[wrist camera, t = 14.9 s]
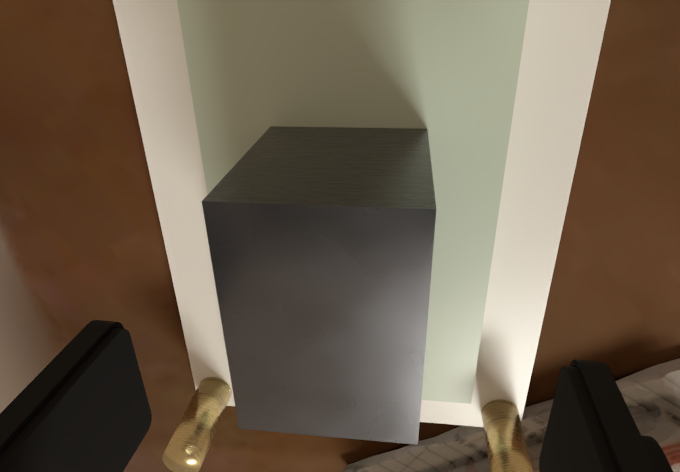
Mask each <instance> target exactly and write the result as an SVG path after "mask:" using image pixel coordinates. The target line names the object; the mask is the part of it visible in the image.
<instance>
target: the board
mask: <svg viewBox="0 0 680 472" xmlns="http://www.w3.org/2000/svg"><path fill="white" fill-rule="evenodd" d="M177 4H178V11H179V17H180V23H181V30H182V36H183V42H184V49H185V55H186V62H187V68H188V74H189V81H190V87H191V93H192V100H193V106H194V113H195V119H196V125H197V132H198V138H199V144H200V151H201V157H202V164H203V170H204V176H205V183H206V189H207V196H206V197H205V198H204V199H203V200H202V206H203V213H204V219H205V225H206V231H207V237H208V243H209V249H210V255H211V261H212V267H213V274H214V280H215V286H216V292H217V298H218V304H219V310H220V316H221V322H222V328H223V335H224V341H225V347H226V353H227V359H228V365H229V371H230V377H231V383H232V389H233V396H234V402H235V408H236V414H237V420H238V426H239V429H250V430H261V431H272V432H283V433H294V434H305V435H316V436H327V437H337V438H348V439H359V440H370V441H381V442H392V443H403V444H414V445H418V436H419V423H420V411H421V400H430V401H442V402H455V403H467V404H471V402H472V395H473V388H474V381H475V374H476V367H477V360H478V353H479V346H480V339H481V332H482V325H483V318H484V311H485V304H486V297H487V290H488V283H489V277H490V270H491V263H492V256H493V249H494V242H495V235H496V228H497V221H498V214H499V207H500V200H501V193H502V186H503V179H504V172H505V165H506V158H507V152H508V145H509V138H510V131H511V124H512V117H513V110H514V103H515V96H516V89H517V82H518V75H519V68H520V61H521V54H522V47H523V40H524V33H525V27H526V20H527V13H528V6H529V0H177Z"/></svg>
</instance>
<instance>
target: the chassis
mask: <svg viewBox="0 0 680 472" xmlns="http://www.w3.org/2000/svg"><path fill="white" fill-rule="evenodd" d="M610 2H611V0H529V6H528V13H527V20H526V27H525V33H524V40H523V47H522V54H521V61H520V68H519V75H518V82H517V89H516V96H515V103H514V110H513V117H512V124H511V131H510V138H509V145H508V152H507V158H506V165H505V172H504V179H503V186H502V193H501V200H500V207H499V214H498V221H497V228H496V235H495V242H494V249H493V256H492V263H491V270H490V277H489V283H488V290H487V297H486V304H485V311H484V318H483V325H482V332H481V339H480V346H479V353H478V360H477V367H476V374H475V381H474V388H473V395H472V402H471V404H467V403H455V402H442V401H430V400H421V411H420V422H428V423H439V424H451V425H463V426H475V427H484V433H485V439H486V446H487V452H488V458H489V464H490V470H491V472H533V468H532V464H531V460H530V456H529V452H528V448H527V443H526V439H525V435H524V431H523V427H522V423H521V422H522V417H523V412H524V407H525V403H526V398H527V393H528V389H529V384H530V379H531V374H532V370H533V365H534V360H535V356H536V351H537V346H538V341H539V337H540V332H541V327H542V322H543V318H544V313H545V308H546V304H547V299H548V294H549V289H550V285H551V280H552V275H553V271H554V266H555V261H556V256H557V252H558V247H559V242H560V238H561V233H562V228H563V223H564V219H565V214H566V209H567V204H568V200H569V195H570V190H571V186H572V181H573V176H574V171H575V167H576V162H577V157H578V153H579V148H580V143H581V138H582V134H583V129H584V124H585V120H586V115H587V110H588V105H589V101H590V96H591V91H592V87H593V82H594V77H595V72H596V68H597V63H598V58H599V53H600V49H601V44H602V39H603V35H604V30H605V25H606V20H607V16H608V11H609V6H610ZM113 4H114V8H115V13H116V18H117V22H118V27H119V32H120V36H121V41H122V46H123V50H124V55H125V60H126V65H127V69H128V74H129V79H130V83H131V88H132V93H133V97H134V102H135V107H136V111H137V116H138V121H139V126H140V130H141V135H142V140H143V144H144V149H145V154H146V158H147V163H148V168H149V172H150V177H151V182H152V187H153V191H154V196H155V201H156V205H157V210H158V215H159V219H160V224H161V229H162V233H163V238H164V243H165V248H166V252H167V257H168V262H169V266H170V271H171V276H172V280H173V285H174V290H175V294H176V299H177V304H178V309H179V313H180V318H181V323H182V327H183V332H184V337H185V341H186V346H187V351H188V355H189V360H190V365H191V370H192V374H193V379H194V384H195V388H196V392H195V394H194V396H193V398H192V399H191V401H190V403H189V405H188V407H187V409H186V411H185V413H184V415H183V417H182V419H181V421H180V423H179V425H178V427H177V429H176V431H175V433H174V434H173V436H172V438H171V440H170V442H169V444H168V446H167V448H166V450H165V452H164V454H163V462H164V464H165V465H166V466H167V467H168V468H169V469H170V470H172V471H173V472H198V471H199V470H200V468H201V465H202V463H203V461H204V458H205V456H206V454H207V451H208V449H209V447H210V444H211V442H212V439H213V437H214V435H215V432H216V430H217V428H218V425H219V423H220V421H221V418H222V416H223V414H224V411H225V409H226V407H227V406H235V402H234V396H233V389H232V383H231V377H230V371H229V365H228V359H227V353H226V347H225V341H224V335H223V328H222V322H221V316H220V310H219V304H218V298H217V292H216V286H215V280H214V274H213V267H212V261H211V255H210V249H209V243H208V237H207V231H206V225H205V219H204V213H203V206H202V200H203V199H204V198H205V197H206V196H207V189H206V183H205V176H204V170H203V164H202V157H201V151H200V144H199V138H198V132H197V125H196V119H195V113H194V106H193V100H192V93H191V87H190V81H189V74H188V68H187V62H186V55H185V49H184V42H183V36H182V30H181V23H180V17H179V11H178V4H177V0H113Z"/></svg>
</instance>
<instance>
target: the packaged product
mask: <svg viewBox="0 0 680 472" xmlns="http://www.w3.org/2000/svg"><path fill="white" fill-rule="evenodd" d="M616 383H617V386H618V388H619V390H620V392H621V394H622V396H623V398H624V400H625V402H626V405H627V407H628V409H629V411H630V413H631V415H632V417H633V419H634V421H635V424H636V426H637V428H638V430H639V432H640V434H641V435H644V436H651V437H653V438H654V439H655V440H656V441H657V442H658V444H659V445H660V447H661V448H662V450H663V452H664V454H665V456H666V458H667V460H668V462H669V464H670V466H671V468H672V470H673V472H680V358H679V359H675V360H672V361H668V362H665V363H662V364H658V365H655V366H652V367H649V368H647V369H644V370H642V371H639V372H637V373H634V374H632V375H629V376H627V377H624V378H622V379H619V380H617V381H616ZM553 400H554V399H551V400H548V401H544V402H541V403H538V404H534V405H531V406H528V407H524V412H523V417H522V422H521V423H522V427H523V431H524V435H525V439H526V443H527V448H528V452H529V456H530V460H531V464H532V468H533V472H540V471H539V458H540V453H541V449H542V445H543V441H544V437H545V433H546V428H547V424H548V420H549V416H550V412H551V408H552V404H553ZM344 472H491V470H490V464H489V458H488V452H487V446H486V439H485V433H484V427H475V426H460V427H457V428H455V429H452V430H450V431H448V432H445V433H443V434H440V435H438V436H435V437H433V438H429V439H425V440H421V441H419V442H418V445H414V444H411V445H408V446H405V447H403V448H400V449H397V450H393V451H390V452H386V453H382V454H379V455H375V456H372V457H368V458H365V459H363V460H360V461H358V462H355V463H352V464H348V465H347V467H346V468H345V469H344Z"/></svg>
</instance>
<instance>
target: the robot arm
mask: <svg viewBox="0 0 680 472" xmlns="http://www.w3.org/2000/svg"><path fill="white" fill-rule="evenodd" d="M151 417H152V416H151V410H150V407H149V403H148V399H147V396H146V392H145V388H144V385H143V381H142V377H141V374H140V370H139V366H138V362H137V359H136V355H135V351H134V348H133V344H132V340H131V337H130V333H129V331H128V330H126V329H124V328H123V325H122V324H121V323H119V322H112V321H100V320H94V321H91V322H90V323H89V324H87V325H86V326H85V327H84V328H83V329H82V331H81V332H80V333H79V334H78V335H77V336H76V337H75V338H74V339H73V340H72V341H71V342H70V343H69V344H68V345H67V346H66V347H65V348H64V349H63V350H62V351H61V352H60V353H59V354H58V355H57V356H56V357H55V358H54V359H53V360H52V361H51V362H50V363H49V364H48V365H47V366H46V368H44V370H43V371H42V372H41V373H40V374H39V375H38V376H37V377H36V378H35V379H34V380H33V381H32V382H31V383H30V384H29V385H28V386H27V387H26V388H25V389H24V390H23V391H22V392H21V393H20V394H19V395H18V396H17V397H16V398H15V399H14V400H13V401H12V402H11V403H10V404H9V405H8V406H7V407H6V409H4V411H3V412H2V413H1V414H0V472H123V471H124V469H125V467H126V466H127V464H128V463H129V461H130V459H131V458H132V456H133V454H134V453H135V451H136V449H137V448H138V446H139V445H140V443H141V441H142V440H143V438H144V436H145V435H146V433H147V431H148V429H149V427H150V424H151ZM539 471H540V472H673V470H672V468H671V466H670V464H669V462H668V460H667V458H666V456H665V454H664V452H663V450H662V448H661V447H660V445H659V444H658V442H657V441H656V440H655V439H654V438H653V437H651V436H644V435H641V434H640V432H639V430H638V428H637V426H636V424H635V421H634V419H633V417H632V415H631V413H630V411H629V409H628V407H627V405H626V402H625V400H624V398H623V396H622V394H621V392H620V390H619V388H618V386H617V383H616V381H615V379H614V377H613V375H612V373H611V371H610V369H609V367H608V365H607V364H606V363H604V362H596V361H584V360H573V361H572V363H571V365H570V367H567V366H563V367H562V368H561V371H560V375H559V379H558V383H557V387H556V391H555V395H554V400H553V404H552V408H551V412H550V416H549V420H548V424H547V428H546V433H545V437H544V441H543V445H542V449H541V453H540V458H539Z"/></svg>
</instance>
